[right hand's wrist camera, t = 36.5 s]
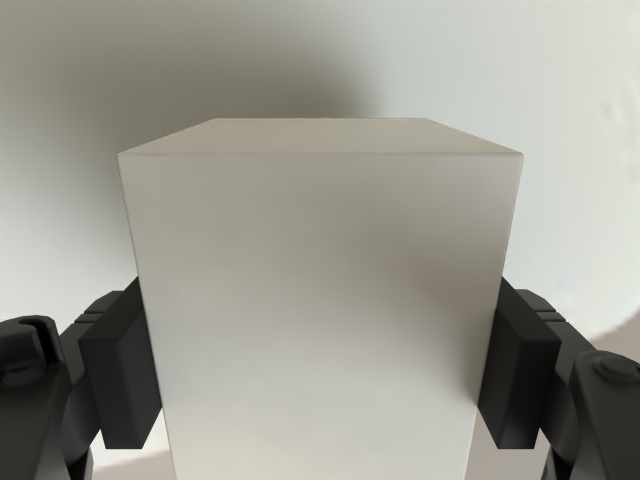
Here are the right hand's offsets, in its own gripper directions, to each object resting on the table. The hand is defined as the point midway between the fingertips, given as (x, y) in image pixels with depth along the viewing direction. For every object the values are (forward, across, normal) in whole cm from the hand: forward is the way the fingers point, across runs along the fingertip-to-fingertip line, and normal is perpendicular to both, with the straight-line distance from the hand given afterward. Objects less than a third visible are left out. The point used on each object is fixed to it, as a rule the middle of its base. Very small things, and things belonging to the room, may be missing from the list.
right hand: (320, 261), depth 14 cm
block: (+2, 0, 0) cm, 2 cm away
